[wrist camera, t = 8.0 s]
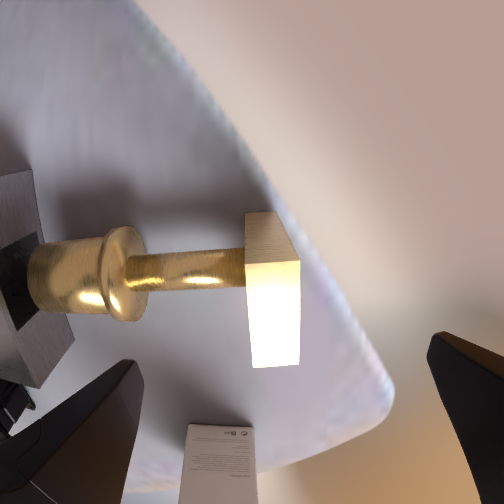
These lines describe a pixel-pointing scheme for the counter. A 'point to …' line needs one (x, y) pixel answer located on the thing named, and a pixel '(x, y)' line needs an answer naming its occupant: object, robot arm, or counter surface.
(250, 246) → the brass door handle
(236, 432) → the skincare box
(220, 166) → the counter surface
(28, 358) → the housing
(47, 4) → the counter surface
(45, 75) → the counter surface
